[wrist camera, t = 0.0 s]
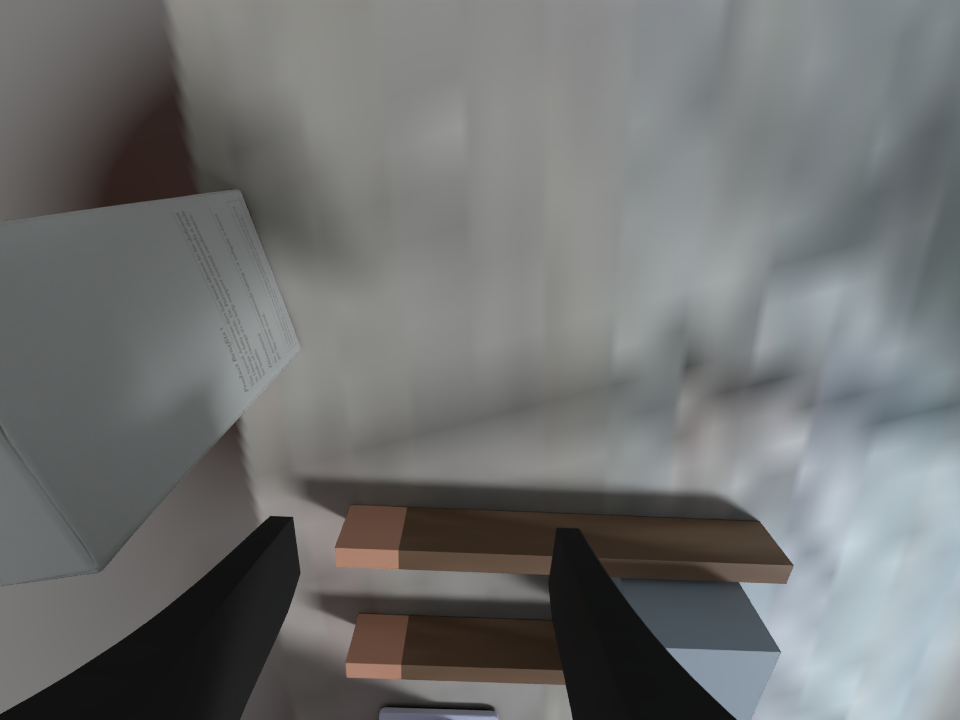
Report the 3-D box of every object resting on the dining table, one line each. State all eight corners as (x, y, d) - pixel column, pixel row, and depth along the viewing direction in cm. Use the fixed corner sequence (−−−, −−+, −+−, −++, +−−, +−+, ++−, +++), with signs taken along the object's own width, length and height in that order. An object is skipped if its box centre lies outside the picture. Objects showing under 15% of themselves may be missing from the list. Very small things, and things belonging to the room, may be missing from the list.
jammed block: (692, 622, 28) (743, 735, 23) (592, 619, 28) (619, 731, 23) (716, 546, 26) (781, 652, 20) (608, 542, 26) (643, 647, 20)
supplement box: (74, 221, 19) (-542, 318, 8) (245, 185, 19) (-140, 231, 7) (156, 381, 22) (-201, 626, 11) (306, 353, 22) (103, 582, 10)
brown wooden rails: (716, 640, 29) (741, 690, 26) (359, 627, 29) (346, 677, 26) (759, 521, 25) (793, 565, 23) (350, 504, 25) (334, 547, 22)
